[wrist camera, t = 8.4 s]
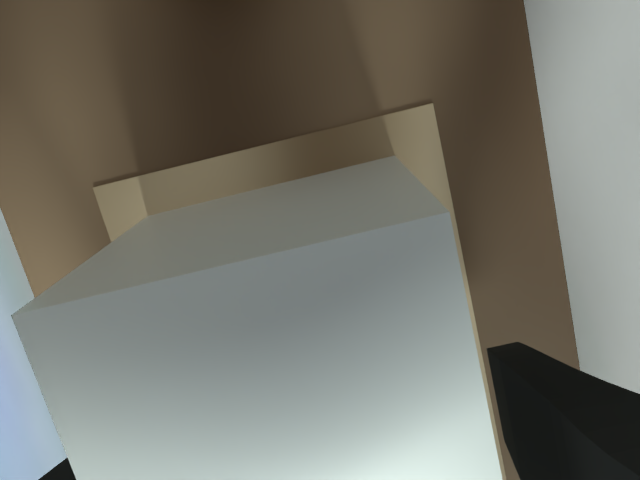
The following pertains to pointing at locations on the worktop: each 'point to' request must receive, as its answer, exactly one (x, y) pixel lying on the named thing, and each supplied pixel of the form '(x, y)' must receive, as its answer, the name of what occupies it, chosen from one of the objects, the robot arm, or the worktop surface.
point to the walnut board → (285, 131)
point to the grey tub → (270, 340)
